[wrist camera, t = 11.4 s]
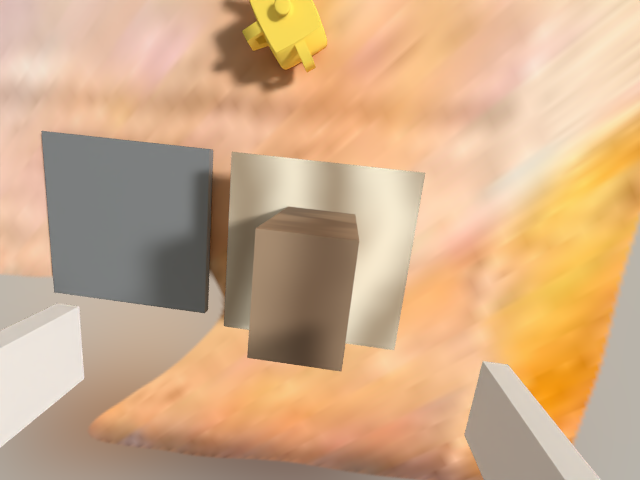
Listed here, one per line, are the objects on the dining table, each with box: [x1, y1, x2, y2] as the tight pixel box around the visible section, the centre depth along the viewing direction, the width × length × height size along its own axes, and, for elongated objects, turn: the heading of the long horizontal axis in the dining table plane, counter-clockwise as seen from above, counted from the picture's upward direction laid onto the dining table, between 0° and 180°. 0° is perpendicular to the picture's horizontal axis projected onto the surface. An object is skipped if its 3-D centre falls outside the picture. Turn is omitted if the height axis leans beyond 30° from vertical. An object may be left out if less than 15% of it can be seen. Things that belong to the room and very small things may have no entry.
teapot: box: [242, 0, 327, 72], centre depth 25 cm, size 8×6×5 cm
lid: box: [224, 152, 425, 371], centre depth 21 cm, size 14×14×10 cm
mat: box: [42, 131, 213, 313], centre depth 32 cm, size 16×16×1 cm
